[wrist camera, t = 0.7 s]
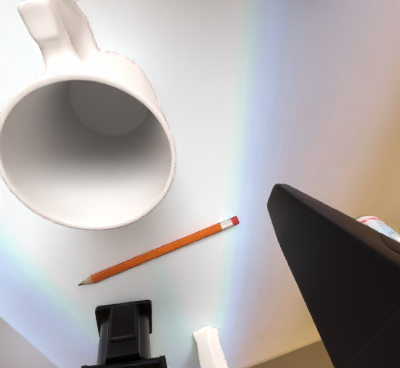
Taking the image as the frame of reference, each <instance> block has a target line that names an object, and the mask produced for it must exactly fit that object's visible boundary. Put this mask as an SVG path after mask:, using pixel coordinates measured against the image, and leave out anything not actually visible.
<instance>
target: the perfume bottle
mask: <svg viewBox="0 0 400 368" xmlns="http://www.w3.org/2000/svg"><path fill="white" fill-rule="evenodd" d="M193 337H194V339H195V341H196V344H197V347H198V354H199V362H200V368H228V365H227V362H226V360H225V357H224V354H223V351H222V348H221V345H220V343H219V330H218V328H215V327H211V326H204V327H202V328H201V329H199V330H198V331H196V332H194V333H193Z"/></svg>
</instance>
